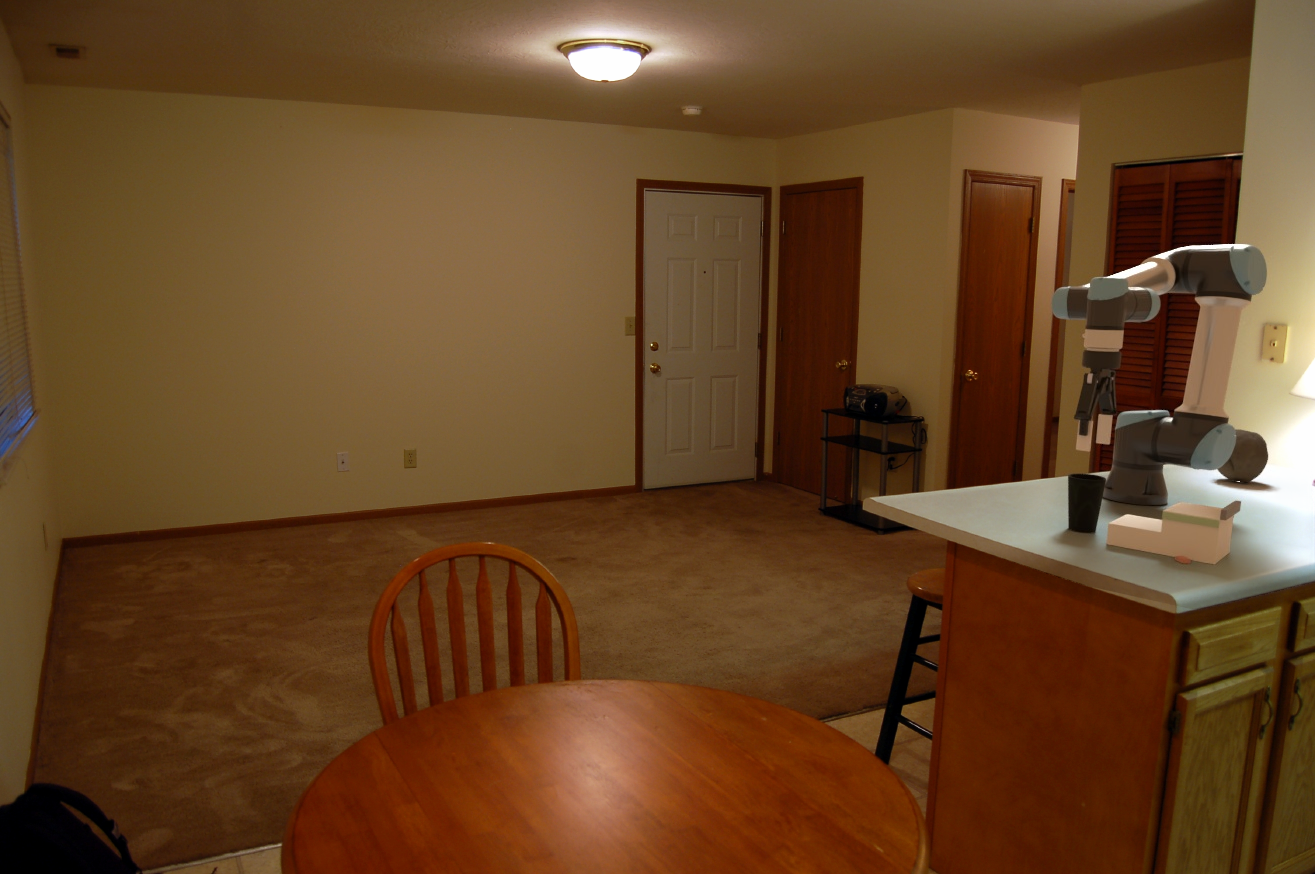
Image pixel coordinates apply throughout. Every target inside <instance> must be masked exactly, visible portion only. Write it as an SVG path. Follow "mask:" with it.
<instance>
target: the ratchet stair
mask: <svg viewBox="0 0 1315 874" xmlns="http://www.w3.org/2000/svg"><path fill="white" fill-rule="evenodd" d="M1241 507H1242V500H1236V499H1235V500H1234V501H1232V502H1231V503H1229V504H1227V505H1226V506H1224V507H1217V506H1210V505H1203V504H1197V503H1190V502H1184V501H1179V502H1177V503H1175V504H1173V505H1171V506H1169V507H1167V508H1166V509H1163V510H1162V512H1161V513H1162V516H1161V519H1160V518H1159V519H1158V518H1153V517H1146V516H1140V515H1134V514H1128V513H1127V514H1124V515H1122V516H1120V517H1118V518H1116V519H1114V520H1113V521H1110V522H1108V524H1107V525H1108V526H1107V534H1106V545H1110V546H1114V547H1119V548H1126V549H1130V550H1136V551H1139V552H1140V551H1141V552H1146V553H1152V554H1157V555H1164V556H1168V557H1173V558H1174V560H1175V561H1177V562H1179V563H1181V564H1191V561H1193V562H1194V561H1195V562H1199V563H1205V564H1211V565H1216V564H1217V563H1218V562H1220V561H1221V560H1222V559H1223V558H1225V557H1226V556H1227V555H1229V553H1230V549H1231V540H1232V535H1233V534H1232V532H1233V525H1234V518H1235V515H1236V514H1238V513H1239V512H1240V511H1241Z"/></svg>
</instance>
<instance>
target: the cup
mask: <svg viewBox="0 0 1315 874" xmlns="http://www.w3.org/2000/svg"><path fill="white" fill-rule="evenodd" d="M1106 479H1107V478H1106V477H1105V476H1101V475H1096V474H1091V473H1070V474H1068V475H1067V499H1068V500H1067V503H1068V504H1067V505H1068V508H1067V511H1068V512H1067V514H1068V515H1067V516H1068V517H1067V519H1068V520H1067V521H1068V525H1067V526H1068V530H1070V531H1073V532H1078V533H1083V534H1092V533H1096V531H1097V526H1098V522H1099V521H1098V520H1099V517H1100V512H1101V507H1102V503H1103V498H1104V497H1103V493H1104V488H1105V483H1106Z"/></svg>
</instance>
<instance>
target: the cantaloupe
mask: <svg viewBox="0 0 1315 874" xmlns="http://www.w3.org/2000/svg"><path fill="white" fill-rule="evenodd" d="M1235 431H1236V434H1235V435H1236V443H1235V447H1234V449H1233V452H1232V454H1231V456H1230V458H1229V459H1228V461H1227V462H1226V463H1225V464H1224V465H1223V466H1222V467H1220V468H1218V469H1216V470H1217V471H1218V472H1219V474H1221V475H1222V476H1223V477H1224V478H1226V479H1227V480H1229V481H1232V482H1234V481H1240V482H1244V483H1247V482H1251V481H1254V480H1255V479H1256V478H1258V477H1259V476H1260V475H1261V474H1262V473H1263V471H1264V470H1265V468H1266V466H1267V464H1268V461H1269V452H1268V447H1267V446H1268V444H1267V442H1266V440H1265V439H1264V437H1263V436H1262V435H1261V434H1260V433H1258V432H1255V431H1254V432H1253V431H1250V430H1245V429H1238V428H1235Z"/></svg>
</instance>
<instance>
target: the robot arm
mask: <svg viewBox="0 0 1315 874" xmlns="http://www.w3.org/2000/svg"><path fill="white" fill-rule="evenodd" d="M1267 269H1268V268H1267V262H1266V259H1265V256H1264V254H1263V252H1262V251H1261V249H1260V248H1258V247H1257V246H1255V245H1253V244H1240V243H1239V244H1238V243H1234V244H1233V243H1232V244H1213V245H1212V244H1211V245H1209V244H1208V245H1189V246H1184V247H1178V248H1175V249H1172V250H1167V251H1165V252H1162V253H1160V254H1157V255H1153V256H1151V257H1147V259H1144V260H1143V261H1142V262H1141V263H1140V265H1137V266H1135V267H1132V268H1129V269H1126V270H1124V271H1120V272H1118V273H1115V274H1113V275H1110V276H1097V277H1093V278H1091V280H1090V281H1089V283H1086V284H1082V285H1079V286H1072V285H1070V286H1062V287H1059V288H1057V289H1056V290H1055V291H1054V293H1053V294H1052V297H1051V302H1050V304H1051V306H1050V308H1051V311H1052V314H1053V316H1055V317H1056V318H1058V319H1061V320H1067V321H1074V320H1075V321H1085V327H1084V328H1085V329H1084V333H1082V334H1081V337H1082V338H1084V340H1083V347H1084V348H1086V349H1084V350H1083V351H1082V360H1081V366H1082V367H1083V368H1086V369H1087V368H1088V369H1090V371H1089V372H1088V373H1086V372H1085V373H1084V375H1083V383H1082V386H1081V389H1080V390H1081V391H1080V395H1079V398H1078V402H1077V406H1076V410H1075V414H1074V415H1073V419H1074V420H1077V421H1078V423H1077V424H1078V425H1077V434H1076V443H1075V444H1076V445H1075V451H1082V452H1091V446H1092V436H1093V425H1094V420H1092V419H1093V415H1094V413H1095V409H1096V407H1097V404H1098V406H1099V411H1100V413H1099V414H1098V418H1097V429H1096V438H1095V439H1096V440H1095V443H1096V444H1099V445H1100V444H1101V445H1102V444H1103V445H1110V444H1111V437H1112V436H1111V434H1112V425H1113V416H1117V414H1118V410H1117V397H1116V396H1117V394H1116V393H1117V392H1116V370H1119V369H1120V367H1121V360H1122V352H1121V351H1120V350H1121V349H1122V348H1123V344H1124V343H1123V342H1124V332H1125V331H1124V329H1125V323H1137V324H1138V323H1142V322H1143V323H1144V322H1148V321H1151V320H1152V319H1154V318H1155V317H1156V316H1157V315H1158V314H1159V311H1160V309H1161V299H1160V296H1161V295H1164V294H1168V293H1169V294H1171V293H1172V294H1195V296H1194V301H1195V302H1196V303H1197V304H1198V305H1199V306H1200V309H1199V314H1198V320H1197V324H1196V330H1195V335H1194V342H1193V347H1192V351H1191V358H1190V363H1189V368H1188V374H1187V378H1186V385H1185V389H1184V396H1183V399H1182V400H1183V402H1182V404H1181V405H1180V406H1178V407H1176V408H1175V409H1174V412H1173V416H1172V417H1171V414H1170V412H1169V411H1168V410H1165V409H1163V410H1162V409H1155V410H1153V409H1151V410H1130V411H1129V410H1128V411H1122V412H1120V413H1119V414H1118V416H1117V419H1116V424H1115V428H1114V430H1115V431H1114V444H1113V452H1112V453H1113V454H1112V463H1111V464H1112V465H1111V469H1110V471H1109V473H1108V475H1107V478H1106V483H1105V488H1104V493H1103V498H1105V499H1106V500H1109V501H1110V500H1111V501H1113V502H1114V501H1115V502H1119V503H1123V504H1125V503H1126V504H1131V505H1142V506H1159V505H1166V504H1167V503H1168V499H1169V491H1168V489H1167V485H1166V479H1165V477H1164V464H1165V465H1172V466H1177V467H1183V468H1189V469H1193V470H1204V471H1215V470H1217V469H1218V468H1220V467H1222V466H1223V465H1224V464H1225V463H1226V462H1227V461H1228V459H1229V458H1230V456H1231V454H1232V452H1233V449H1234V447H1235V443H1236V435H1235V434H1236V431H1235V429H1236V428H1235V426H1233V425H1232V424H1231V423H1229V419H1230V417H1229V415H1228V413H1227V412H1226V411H1225V409H1224V406H1225V402H1226V400H1225V399H1226V397H1227V396H1226V395H1227V391H1228V384H1229V380H1230V375H1231V369H1232V364H1233V359H1234V354H1235V348H1236V342H1237V339H1238V338H1237V336H1238V331H1239V327H1240V321H1241V317H1242V316H1241V315H1242V310H1243V309H1244V308H1246V307H1247V306H1249V305H1250V304H1251V302H1252V297H1253V296H1256V295H1259V294H1260V293H1262V291H1263V289H1264V288H1265V286H1266V284H1267V275H1268V271H1267Z"/></svg>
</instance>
